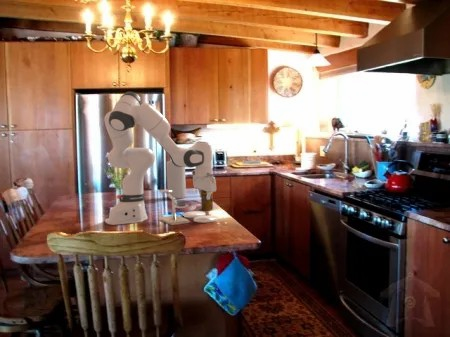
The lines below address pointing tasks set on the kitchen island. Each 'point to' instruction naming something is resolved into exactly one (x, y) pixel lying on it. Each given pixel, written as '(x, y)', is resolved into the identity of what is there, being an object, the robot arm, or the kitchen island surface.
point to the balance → (174, 219)
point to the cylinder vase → (176, 181)
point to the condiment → (206, 202)
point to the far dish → (193, 214)
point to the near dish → (205, 219)
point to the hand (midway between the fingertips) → (205, 198)
